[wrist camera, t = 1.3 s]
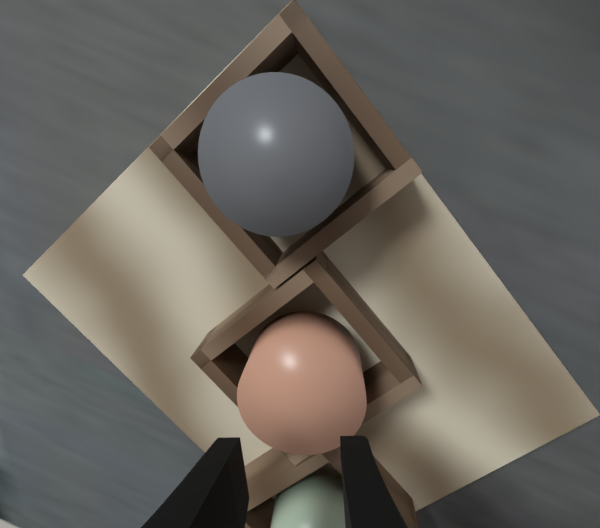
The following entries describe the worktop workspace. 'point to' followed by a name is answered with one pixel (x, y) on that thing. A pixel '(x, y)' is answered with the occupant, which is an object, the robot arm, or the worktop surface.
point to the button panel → (313, 301)
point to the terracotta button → (303, 384)
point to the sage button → (310, 504)
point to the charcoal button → (276, 154)
